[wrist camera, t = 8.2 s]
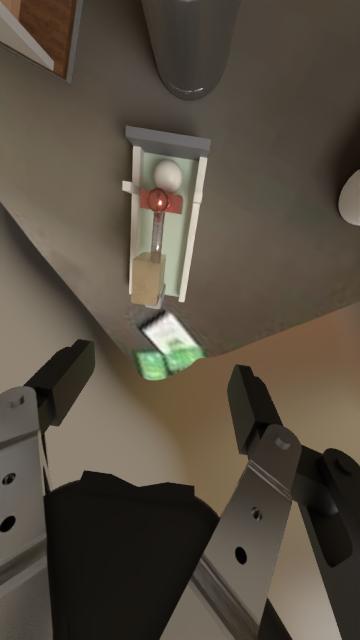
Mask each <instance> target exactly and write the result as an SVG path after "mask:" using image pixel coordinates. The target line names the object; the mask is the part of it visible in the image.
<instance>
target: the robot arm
mask: <svg viewBox="0 0 360 640" xmlns="http://www.w3.org/2000/svg"><path fill="white" fill-rule="evenodd" d="M141 1H142V6H143V10H144V14H145V19H146V23H147V27H148V31H149V36H150V40H151V45H152V49H153V53H154V57H155V61H156V65H157V70H158V72H159V75H160V77H161V80H162V81H163V83H164V85H165V86H166V88H167V89H168V90H169V91H170V92H171V93H172V94H174V95H175V96H177V97H178V98H181V99H184V100H196V99H199V98H202V97H203V96H205V95H207V94H208V93H209V92H210V91H211V90H212V89H213V88H214V87H215V86H216V84H217V83H218V81H219V80H220V78H221V76H222V74H223V72H224V69H225V65H226V62H227V58H228V54H229V50H230V45H231V41H232V37H233V32H234V28H235V23H236V19H237V15H238V10H239V6H240V1H241V0H141ZM94 367H95V350H94V342H93V341H88V340H82V339H78V340H77V341H76V342H75V343H74V344H73V345H72V346H71V347H65V348H63V349H61V350H59V351H58V352H56V353H55V355H53V356H52V358H51V359H50V360H49V361H48V362H47V363H45V365H44V366H42V367H41V368H40V369H39V370H38V372H37V373H35V375H34V376H33V377H31V378H30V380H29V381H27V383H25V384H24V386H21V387H15V388H11V389H9V390H7V391H5V392H3V393H1V394H0V640H292V638H291V636H290V634H289V633H288V631H287V629H286V628H285V626H284V624H283V623H282V621H281V619H280V618H279V616H278V614H277V613H276V611H275V609H274V607H273V606H272V604H271V602H270V601H269V599H268V597H267V595H268V592H269V588H270V584H271V580H272V576H273V573H274V569H275V565H276V561H277V558H278V554H279V550H280V546H281V542H282V539H283V535H284V531H285V527H286V523H287V520H288V516H289V512H290V509H291V505H292V500H294V501H296V502H298V506H299V509H300V512H301V515H302V518H303V521H304V524H305V527H306V530H307V533H308V536H309V539H310V542H311V546H312V548H313V552H314V554H315V558H316V561H317V564H318V567H319V570H320V573H321V576H322V579H323V582H324V585H325V588H326V591H327V595H328V598H329V600H330V604H331V607H332V610H333V613H334V616H335V619H336V622H337V626H338V628H339V632H340V635H341V638H342V640H360V466H359V465H358V464H357V463H356V462H355V461H354V460H353V459H352V458H351V457H350V456H348V455H347V454H345V453H344V452H342V451H340V450H337V449H333V448H329V449H326V450H325V451H324V453H323V454H321V453H319V452H317V451H314V450H312V449H310V448H308V447H305V446H303V445H301V444H300V442H299V440H298V438H297V437H296V436H295V435H294V433H292V432H291V431H290V430H289V429H287V428H286V427H284V426H283V424H282V422H281V420H280V417H279V415H278V413H277V410H276V408H275V406H274V404H273V401H272V400H271V397H270V395H269V392H268V390H267V388H266V386H265V384H264V383H263V382H262V380H261V379H260V378H259V377H255V376H254V375H253V372H252V370H251V367H249V366H244V365H237V364H236V365H235V367H234V369H233V372H232V375H231V378H230V381H229V384H228V388H227V394H228V401H229V406H230V410H231V415H232V420H233V425H234V430H235V435H236V440H237V445H238V450H239V454H244V455H248V460H249V462H248V464H247V466H246V468H245V470H244V472H243V474H242V476H241V478H240V479H239V481H238V483H237V485H236V487H235V489H234V491H233V493H232V495H231V497H230V499H229V501H228V503H227V504H226V506H225V508H224V510H223V512H222V514H221V516H220V517H219V516H218V515H217V513H216V512H215V511H214V510H213V509H212V508H211V507H210V506H209V505H208V504H207V503H205V502H204V501H203V500H201V499H199V498H198V497H196V496H194V486H190V485H183V484H176V483H169V482H166V483H160V484H154V485H148V486H142V487H137V486H134V485H132V484H130V483H128V482H126V481H124V480H122V479H120V478H118V477H116V476H114V475H112V474H106V473H99V472H91V471H84V472H83V475H82V477H81V479H80V480H76V481H73V482H69V483H67V484H65V485H62V486H60V487H58V488H56V489H55V490H53V489H52V483H51V477H50V470H49V461H48V454H47V444H46V436H45V431H46V430H47V429H48V427H49V426H50V425H53V426H59V425H60V424H61V422H62V421H63V419H64V418H65V416H66V415H67V413H68V411H69V410H70V408H71V407H72V405H73V403H74V402H75V400H76V399H77V397H78V396H79V394H80V392H81V391H82V389H83V388H84V386H85V385H86V383H87V381H88V380H89V378H90V376H91V375H92V373H93V371H94Z"/></svg>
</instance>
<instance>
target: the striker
mask: <svg viewBox="0 0 360 640" xmlns="http://www.w3.org/2000/svg"><path fill="white" fill-rule="evenodd" d="M183 202H184V199H183V197H182V196H181V195H175V194H169V193H167V192H166V191H165V190H164V189H162V188H154V189H152V190H151V191H150V190H143V189H141V192H140V208H144V209H149V210H152V211H153V212H154V217H153V231H152V245H151V252H146V251H144V252H142V253H141V254H140V255H138V256H137V257H135V258H134V259H133V261H132V291H131V303H137V304H144V305H151V306H157V303H158V301H159V298H160V296H161V293H162V291H163V283H164V274H165V264H166V254H161V251H162V240H163V230H164V219H165V212H168V213H175V214H181V215H182V209H183Z"/></svg>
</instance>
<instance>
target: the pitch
mask: <svg viewBox="0 0 360 640" xmlns="http://www.w3.org/2000/svg"><path fill="white" fill-rule="evenodd" d="M126 138H127V139H128V140H129V141H130V143H131V144H132V145H133V172H132V183H131V182H127V181H123V191H126V192H128V193H131V194H132V209H131V245H130V282H129V294H131V291H132V261H133V259H134V258H135V257H137V256H138V255H140V254H141V253H142V252H144V251H146V252H151V245H152V231H153V217H154V212H153V211H152V210H149V209H144V208H140V192H141V189H143V190H150V191H151V190H152V189H154V188H158V187H157V185H156V183H155V179H154V173H155V169H156V167H157V165H158V164H159V163H160V162H161V161H163V160H167V159H169V160H173V161H175V162H176V163H177V164H178V165H179V166H180V168H181V171H182V176H183V179H182V184H181V186H180V188H179V189H178V190H177V191H176V192H174V193H172V194H175V195H181V196H182V197H183V199H184V202H183V209H182V215H181V214H175V213H168V212H165V219H164V230H163V240H162V251H161V254H166V264H165V274H164V283H163V291H162V293H161V296H160V298H159V301H158V303H157V306H151V305H145V307H148V308H155V309H160V307H161V305H162V302H163V299H164V296H165V295H172V296H178V297H179V302H184V301H185V294H186V288H187V282H188V276H189V270H190V263H191V257H192V251H193V245H194V238H195V232H196V226H197V220H198V213H199V207H200V204H201V201H202V194H203V193H202V189H203V182H204V176H205V170H206V164H207V158H208V154H209V150H210V144H211V139H205V138H199V137H193V136H187V135H181V134H175V133H168V132H162V131H156V130H150V129H144V128H138V127H132V126H126Z"/></svg>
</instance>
